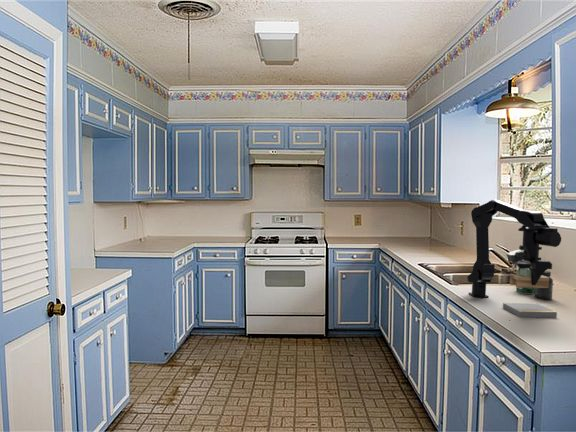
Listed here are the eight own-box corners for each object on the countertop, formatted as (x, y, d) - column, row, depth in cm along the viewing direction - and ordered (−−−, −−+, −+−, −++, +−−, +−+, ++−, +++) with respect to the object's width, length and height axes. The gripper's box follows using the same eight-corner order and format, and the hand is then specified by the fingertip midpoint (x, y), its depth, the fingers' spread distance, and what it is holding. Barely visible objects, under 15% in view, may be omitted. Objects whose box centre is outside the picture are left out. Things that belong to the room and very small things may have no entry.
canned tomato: (521, 289, 204) (522, 266, 203) (538, 293, 198) (539, 269, 197) (512, 291, 199) (514, 268, 199) (530, 295, 193) (531, 271, 192)
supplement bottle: (545, 296, 192) (547, 269, 191) (555, 300, 185) (557, 273, 185) (530, 295, 192) (532, 269, 191) (540, 299, 185) (541, 272, 184)
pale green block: (519, 274, 168) (520, 268, 168) (532, 274, 168) (532, 268, 168) (525, 276, 164) (526, 270, 164) (538, 276, 164) (538, 270, 164)
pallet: (509, 284, 169) (509, 274, 169) (539, 284, 169) (539, 274, 169) (517, 287, 163) (518, 277, 163) (548, 287, 163) (549, 277, 163)
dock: (502, 307, 171) (503, 302, 171) (537, 308, 171) (537, 303, 171) (519, 316, 159) (519, 311, 159) (556, 317, 160) (556, 312, 159)
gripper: (498, 240, 174) (496, 278, 175) (524, 246, 156) (522, 288, 157) (524, 240, 175) (522, 278, 175) (554, 246, 156) (551, 288, 157)
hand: (528, 283), depth 166 cm, fingers closed on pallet, 6 cm apart
